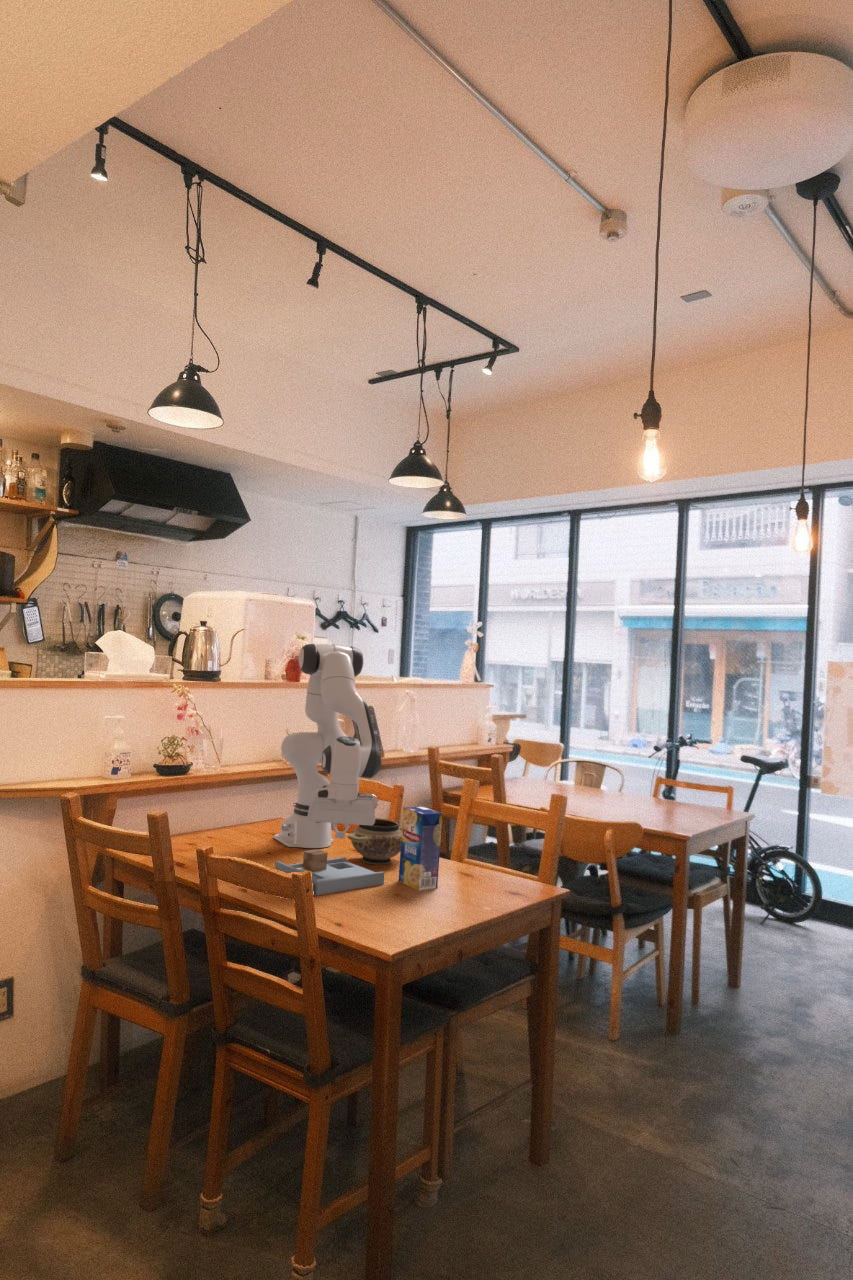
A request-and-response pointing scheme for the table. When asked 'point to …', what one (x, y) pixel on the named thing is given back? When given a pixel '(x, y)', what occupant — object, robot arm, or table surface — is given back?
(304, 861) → the block
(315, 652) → the robot arm
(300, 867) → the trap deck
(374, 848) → the ceramic bowl
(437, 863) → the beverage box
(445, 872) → the table surface
